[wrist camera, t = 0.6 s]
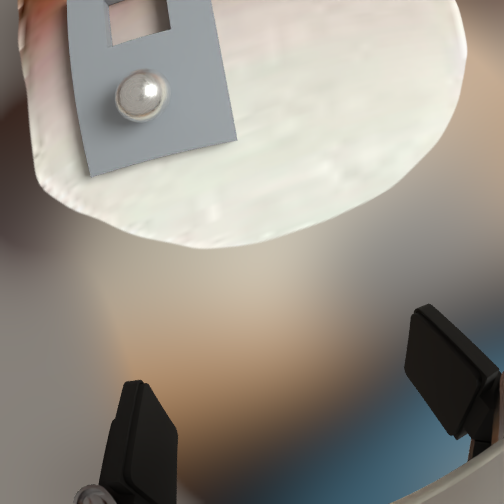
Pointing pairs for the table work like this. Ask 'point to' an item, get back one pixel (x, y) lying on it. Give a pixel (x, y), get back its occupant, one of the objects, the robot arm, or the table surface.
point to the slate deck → (153, 57)
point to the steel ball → (142, 95)
